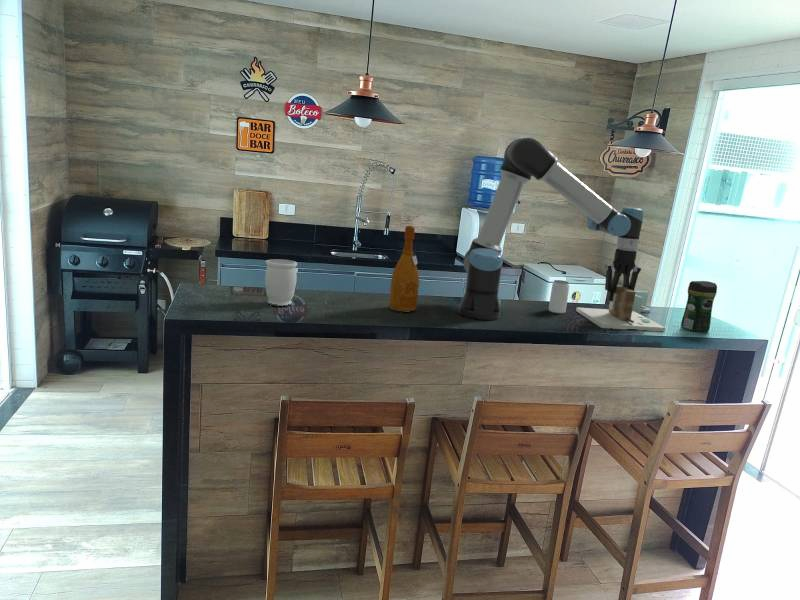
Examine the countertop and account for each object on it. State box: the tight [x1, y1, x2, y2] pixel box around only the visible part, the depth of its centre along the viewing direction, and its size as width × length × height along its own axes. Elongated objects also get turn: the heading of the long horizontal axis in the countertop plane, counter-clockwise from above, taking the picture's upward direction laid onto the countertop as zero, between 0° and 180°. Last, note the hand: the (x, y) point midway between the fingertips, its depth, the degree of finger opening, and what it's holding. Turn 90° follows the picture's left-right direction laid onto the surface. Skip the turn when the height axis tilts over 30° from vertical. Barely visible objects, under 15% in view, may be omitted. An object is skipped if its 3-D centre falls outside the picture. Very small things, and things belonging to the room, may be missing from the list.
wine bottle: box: [389, 225, 420, 312], centre depth 209 cm, size 10×10×30 cm
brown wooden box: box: [608, 284, 636, 323], centre depth 221 cm, size 17×3×11 cm, turn 5°
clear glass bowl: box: [632, 290, 651, 314], centre depth 246 cm, size 12×12×8 cm
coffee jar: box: [680, 280, 718, 333], centre depth 220 cm, size 10×8×19 cm
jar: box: [264, 258, 298, 305], centre depth 203 cm, size 11×10×15 cm
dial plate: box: [575, 306, 666, 332], centre depth 225 cm, size 24×24×2 cm
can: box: [548, 279, 570, 314], centre depth 230 cm, size 6×6×12 cm
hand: (615, 309), depth 228 cm, fingers closed on brown wooden box, 3 cm apart
